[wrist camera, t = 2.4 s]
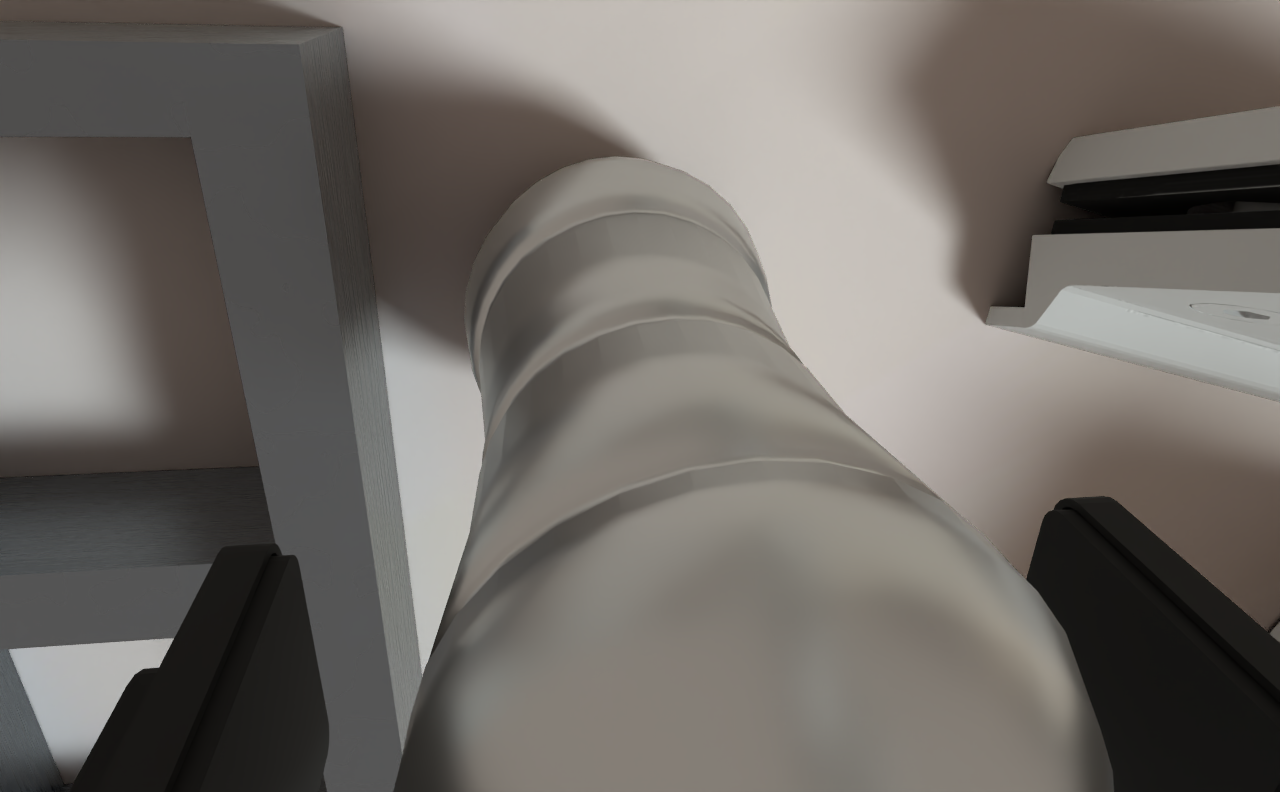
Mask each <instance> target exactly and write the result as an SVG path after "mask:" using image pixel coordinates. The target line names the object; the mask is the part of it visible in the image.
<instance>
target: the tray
mask: <svg viewBox="0 0 1280 792" xmlns="http://www.w3.org/2000/svg"><path fill="white" fill-rule="evenodd" d="M0 137H191V140H192V145H193V150H194V154H195V159H196V164H197V169H198V174H199V178H200V183H201V188H202V193H203V198H204V202H205V207H206V212H207V217H208V222H209V227H210V231H211V236H212V241H213V246H214V251H215V255H216V260H217V265H218V270H219V275H220V279H221V284H222V289H223V294H224V299H225V303H226V308H227V313H228V318H229V323H230V327H231V332H232V337H233V342H234V347H235V351H236V356H237V361H238V366H239V371H240V375H241V380H242V385H243V390H244V395H245V399H246V404H247V409H248V414H249V419H250V423H251V428H252V433H253V438H254V443H255V447H256V452H257V457H258V462H259V467H241V468H218V469H195V470H173V471H150V472H127V473H104V474H82V475H59V476H36V477H13V478H0V792H69V791H70V789H71V787H72V785H73V784H65V785H64V784H63V782H62V779H61V777H60V774H59V772H58V769H57V767H56V765H55V762H54V760H53V757H52V755H51V752H50V750H49V748H48V745H47V743H46V740H45V738H44V736H43V733H42V731H41V728H40V726H39V723H38V721H37V719H36V716H35V714H34V711H33V709H32V707H31V704H30V702H29V699H28V697H27V694H26V692H25V690H24V687H23V685H22V682H21V680H20V677H19V675H18V673H17V670H16V668H15V665H14V663H13V661H12V658H11V656H10V653H9V651H8V649H16V648H31V647H46V646H61V645H76V644H90V643H105V642H120V641H135V640H150V639H164V638H175V636H176V634H177V632H178V630H179V628H180V626H181V624H182V622H183V620H184V618H185V617H186V615H187V613H188V611H189V609H190V607H191V605H192V603H193V601H194V599H195V597H196V595H197V593H198V591H199V589H200V587H201V585H202V583H203V582H204V580H205V578H206V576H207V574H208V572H209V570H210V568H211V566H212V564H213V562H214V560H215V558H216V556H217V554H218V553H219V551H220V550H221V548H223V547H225V546H235V545H253V544H270V543H275V544H277V545H278V546H279V548H280V550H281V553H282V555H295V556H296V557H297V559H298V562H299V566H300V572H301V577H302V582H303V588H304V593H305V598H306V603H307V609H308V614H309V619H310V625H311V630H312V635H313V641H314V646H315V651H316V657H317V662H318V667H319V673H320V678H321V683H322V689H323V694H324V699H325V705H326V710H327V715H328V721H329V749H328V755H327V759H326V764H325V768H324V772H323V776H322V780H321V784H320V789H319V792H393V791H394V787H395V782H396V778H397V774H398V770H399V766H400V762H401V758H402V753H403V749H404V744H405V739H406V735H407V730H408V725H409V720H410V716H411V712H412V709H413V706H414V702H415V699H416V696H417V693H418V690H419V686H420V683H421V680H422V673H421V664H420V656H419V648H418V640H417V632H416V624H415V615H414V607H413V599H412V591H411V583H410V575H409V566H408V558H407V550H406V542H405V534H404V526H403V517H402V509H401V501H400V493H399V485H398V477H397V468H396V460H395V452H394V444H393V436H392V427H391V419H390V411H389V403H388V395H387V387H386V378H385V370H384V362H383V354H382V346H381V338H380V329H379V321H378V313H377V305H376V297H375V289H374V280H373V272H372V264H371V256H370V248H369V240H368V231H367V223H366V215H365V207H364V199H363V191H362V182H361V174H360V166H359V158H358V150H357V141H356V133H355V125H354V117H353V109H352V101H351V92H350V84H349V76H348V68H347V60H346V52H345V43H344V35H343V27H295V26H241V25H187V24H134V23H80V22H26V21H0Z"/></svg>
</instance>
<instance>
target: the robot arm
mask: <svg viewBox="0 0 1280 792" xmlns="http://www.w3.org/2000/svg"><path fill="white" fill-rule="evenodd" d="M1026 580H1027V581H1028V582H1029V583H1030V584H1031V585H1032V586H1033V587H1034V588H1035V589H1036V590H1037V591H1038V593H1039V594H1040V596H1041V597H1042V598H1043V600H1044V601H1045V603H1046V604H1047V606H1048V607H1049V609H1050V610H1051V612H1052V613H1053V615H1054V616H1055V618H1056V619H1057V620H1058V622H1059V623H1060V625H1061V626H1062V628H1063V629H1064V631H1065V632H1066V634H1067V637H1068V640H1069V643H1070V645H1071V648H1072V651H1073V654H1074V657H1075V659H1076V662H1077V665H1078V668H1079V671H1080V673H1081V676H1082V679H1083V682H1084V684H1085V687H1086V690H1087V693H1088V696H1089V698H1090V701H1091V704H1092V707H1093V710H1094V712H1095V715H1096V718H1097V721H1098V723H1099V726H1100V729H1101V733H1102V736H1103V739H1104V743H1105V746H1106V750H1107V753H1108V757H1109V760H1110V763H1111V767H1112V770H1113V784H1114V792H1280V643H1279V642H1278V641H1277V640H1276V639H1275V638H1274V637H1273V636H1271V635H1270V634H1269V633H1268V632H1267V631H1266V630H1264V629H1263V628H1262V627H1261V626H1260V625H1259V624H1258V623H1256V622H1255V621H1254V620H1253V619H1252V618H1251V617H1249V616H1248V615H1247V614H1246V613H1245V612H1244V611H1243V610H1241V609H1240V608H1239V607H1238V606H1237V605H1236V604H1235V603H1233V602H1232V601H1231V600H1230V599H1229V598H1228V597H1226V596H1225V595H1224V594H1223V593H1222V592H1221V591H1220V590H1218V589H1217V588H1216V587H1215V586H1214V585H1213V584H1211V583H1210V582H1209V581H1208V580H1207V579H1206V578H1205V577H1203V576H1202V575H1201V574H1200V573H1199V572H1198V571H1197V570H1195V569H1194V568H1193V567H1192V566H1191V565H1190V564H1188V563H1187V562H1186V561H1185V560H1184V559H1183V558H1182V557H1180V556H1179V555H1178V554H1177V553H1176V552H1175V551H1173V550H1172V549H1171V548H1170V547H1169V546H1168V545H1167V544H1165V543H1164V542H1163V541H1162V540H1161V539H1160V538H1159V537H1157V536H1156V535H1155V534H1154V533H1153V532H1152V531H1150V530H1149V529H1148V528H1147V527H1146V526H1145V525H1144V524H1142V523H1141V522H1140V521H1139V520H1138V519H1137V518H1135V517H1134V516H1133V515H1132V514H1131V513H1130V512H1129V511H1127V510H1126V509H1125V508H1124V507H1123V506H1122V505H1121V504H1119V503H1118V502H1117V501H1115V500H1114V499H1112V498H1111V497H1105V496H1100V497H1083V498H1066V499H1063V500H1060V501H1059V502H1058V503H1057V504H1056V505H1055V508H1054V510H1052V511H1049V512H1048V513H1047V514H1046V515H1045V516H1044V519H1043V521H1042V525H1041V528H1040V532H1039V535H1038V539H1037V543H1036V546H1035V550H1034V553H1033V557H1032V561H1031V564H1030V568H1029V571H1028V575H1027V579H1026ZM328 749H329V721H328V715H327V710H326V705H325V699H324V694H323V689H322V683H321V678H320V673H319V667H318V662H317V657H316V651H315V646H314V641H313V635H312V630H311V625H310V619H309V614H308V609H307V603H306V598H305V593H304V588H303V582H302V577H301V572H300V566H299V562H298V559H297V557H296V556H295V555H282V553H281V550H280V548H279V546H278V545H277V544H275V543H270V544H253V545H235V546H225V547H223V548H221V550H220V551H219V553H218V554H217V556H216V558H215V560H214V562H213V564H212V566H211V568H210V570H209V572H208V574H207V576H206V578H205V580H204V582H203V583H202V585H201V587H200V589H199V591H198V593H197V595H196V597H195V599H194V601H193V603H192V605H191V607H190V609H189V611H188V613H187V615H186V617H185V618H184V620H183V622H182V624H181V626H180V628H179V630H178V632H177V634H176V636H175V638H174V640H173V642H172V644H171V646H170V648H169V650H168V652H167V653H166V655H165V657H164V659H163V661H162V663H161V665H160V667H159V668H150V669H143V670H141V671H140V672H138V673H137V674H135V675H134V677H133V678H132V679H131V681H130V682H129V684H128V685H127V686H126V688H125V690H124V692H123V694H122V696H121V697H120V699H119V701H118V703H117V705H116V707H115V708H114V710H113V712H112V714H111V716H110V718H109V719H108V721H107V723H106V725H105V727H104V729H103V730H102V732H101V734H100V736H99V738H98V740H97V741H96V743H95V745H94V747H93V749H92V750H91V752H90V754H89V756H88V758H87V760H86V761H85V763H84V765H83V767H82V769H81V771H80V772H79V774H78V776H77V778H76V780H75V782H74V783H73V785H72V787H71V789H70V791H69V792H319V789H320V784H321V780H322V776H323V772H324V768H325V764H326V759H327V755H328Z"/></svg>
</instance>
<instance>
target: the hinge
mask: <svg viewBox="0 0 1280 792" xmlns="http://www.w3.org/2000/svg"><path fill="white" fill-rule="evenodd" d="M1047 183H1048V184H1051V185H1054V186H1057V187H1059V188H1062V189H1063V192H1062V196H1061V200H1060V202H1062V203H1065V204H1068V205H1071V206H1075V207H1078V208H1081V209H1084V210H1087V211H1091V212H1094V213H1097V214H1100V215H1103V216H1107V217H1110V218H1096V219H1074V220H1055V222H1054V225H1053V229H1052V232H1051V235H1032V244H1031V253H1030V262H1029V272H1028V281H1027V290H1026V300H1025V307H997V306H991V307H990V310H989V313H988V316H987V319H986V325H989V326H993V327H997V328H1001V329H1005V330H1008V331H1012V332H1016V333H1020V334H1023V335H1027V336H1031V337H1035V338H1039V339H1042V340H1046V341H1050V342H1054V343H1058V344H1061V345H1065V346H1069V347H1073V348H1077V349H1080V350H1084V351H1088V352H1092V353H1096V354H1099V355H1103V356H1107V357H1111V358H1115V359H1118V360H1122V361H1126V362H1130V363H1134V364H1137V365H1141V366H1145V367H1149V368H1153V369H1156V370H1160V371H1164V372H1168V373H1172V374H1175V375H1179V376H1183V377H1187V378H1191V379H1194V380H1198V381H1202V382H1206V383H1210V384H1213V385H1217V386H1221V387H1225V388H1228V389H1232V390H1236V391H1240V392H1244V393H1247V394H1251V395H1255V396H1259V397H1263V398H1266V399H1270V400H1274V401H1278V402H1280V106H1276V107H1270V108H1263V109H1257V110H1250V111H1244V112H1237V113H1231V114H1224V115H1218V116H1211V117H1205V118H1198V119H1192V120H1185V121H1179V122H1172V123H1166V124H1159V125H1153V126H1146V127H1140V128H1133V129H1127V130H1120V131H1114V132H1107V133H1101V134H1094V135H1088V136H1081V137H1075V138H1072V140H1071V141H1070V142H1069V144H1068V145H1067V146H1066V148H1065V149H1064V150H1063V152H1062V153H1061V154H1060V156H1059V158H1058V160H1057V162H1056V164H1055V166H1054V168H1053V170H1052V172H1051V174H1050V176H1049V178H1048V180H1047Z"/></svg>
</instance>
